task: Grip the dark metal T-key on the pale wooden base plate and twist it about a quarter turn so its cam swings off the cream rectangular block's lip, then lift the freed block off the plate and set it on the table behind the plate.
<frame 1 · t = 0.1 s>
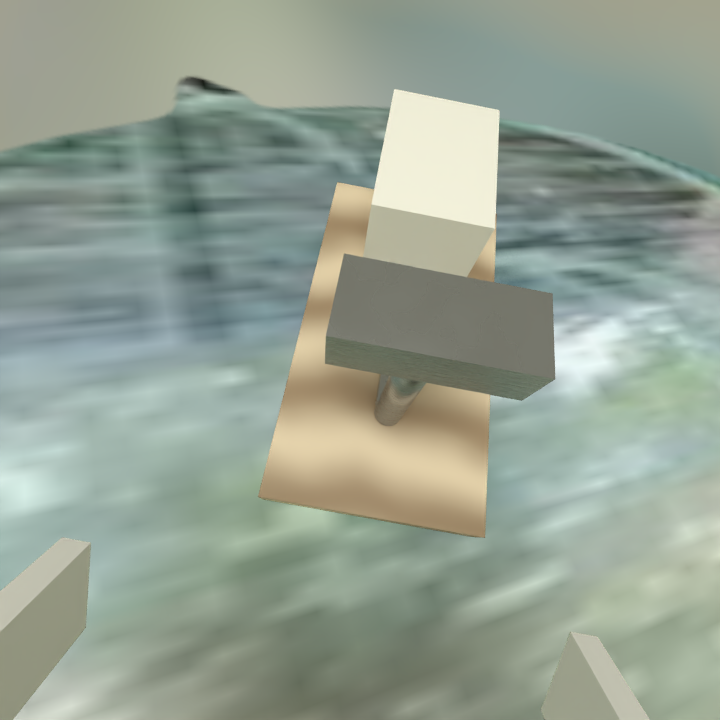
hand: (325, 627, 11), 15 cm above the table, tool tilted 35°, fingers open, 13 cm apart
cream rectangular block: (410, 248, 33), point 2 cm above the table, touching base plate
t key: (414, 324, 22), point 9 cm above the table, hinge at 0.0°
base plate: (394, 341, 32), on the table
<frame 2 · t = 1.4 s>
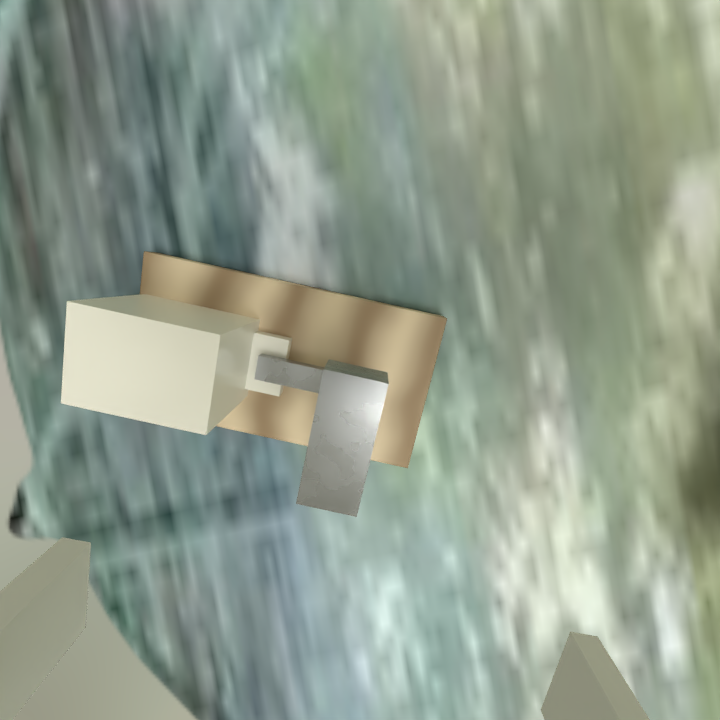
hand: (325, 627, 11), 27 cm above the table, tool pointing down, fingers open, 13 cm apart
cream rectangular block: (197, 346, 35), point 2 cm above the table, touching base plate
t key: (305, 397, 28), point 9 cm above the table, hinge at 0.0°
base plate: (286, 359, 37), on the table
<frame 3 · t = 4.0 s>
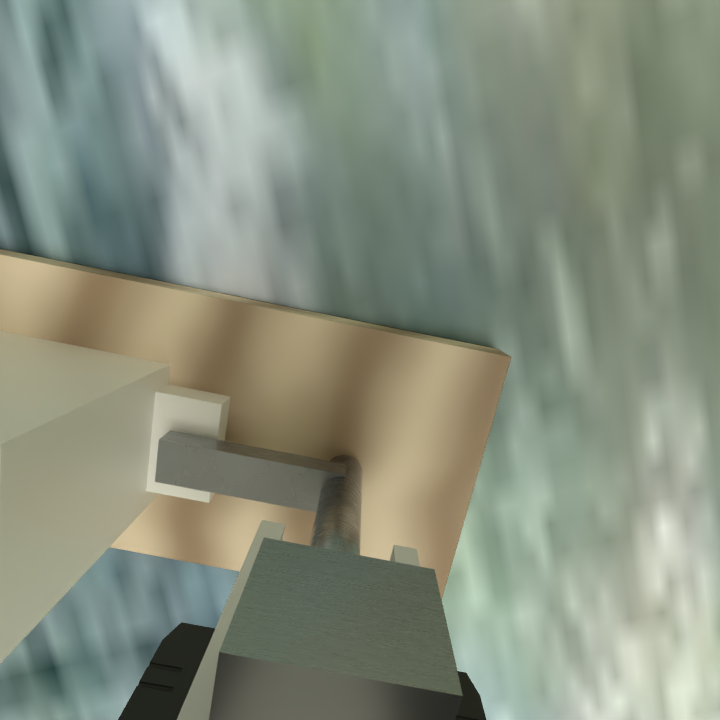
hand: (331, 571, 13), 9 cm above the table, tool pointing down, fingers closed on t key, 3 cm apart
cream rectangular block: (61, 412, 20), point 2 cm above the table, touching base plate
t key: (235, 554, 13), point 9 cm above the table, hinge at 0.0°, touching gripper
base plate: (227, 426, 22), on the table
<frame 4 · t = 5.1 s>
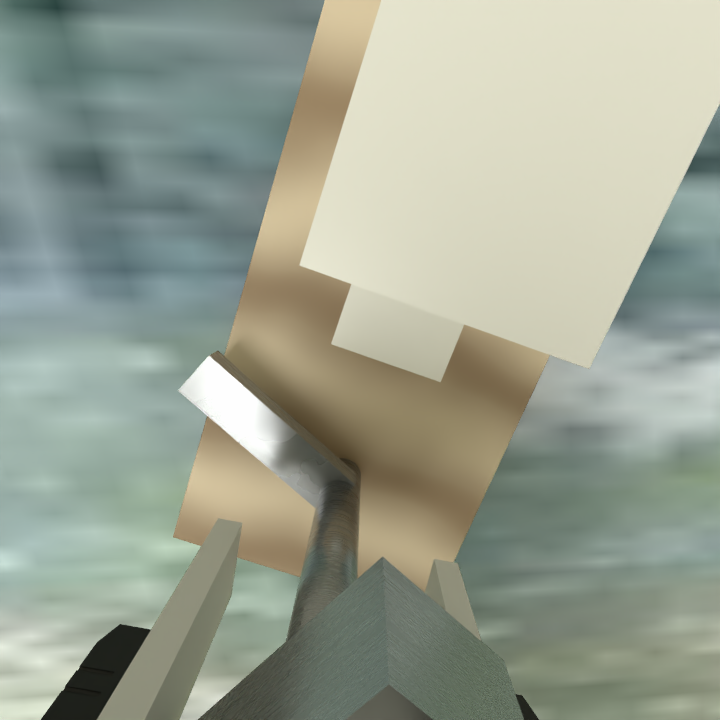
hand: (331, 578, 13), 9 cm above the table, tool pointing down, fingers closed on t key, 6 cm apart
cream rectangular block: (451, 180, 17), point 2 cm above the table, touching base plate
t key: (254, 517, 12), point 9 cm above the table, hinge at 65.7°, touching gripper
base plate: (386, 340, 20), on the table
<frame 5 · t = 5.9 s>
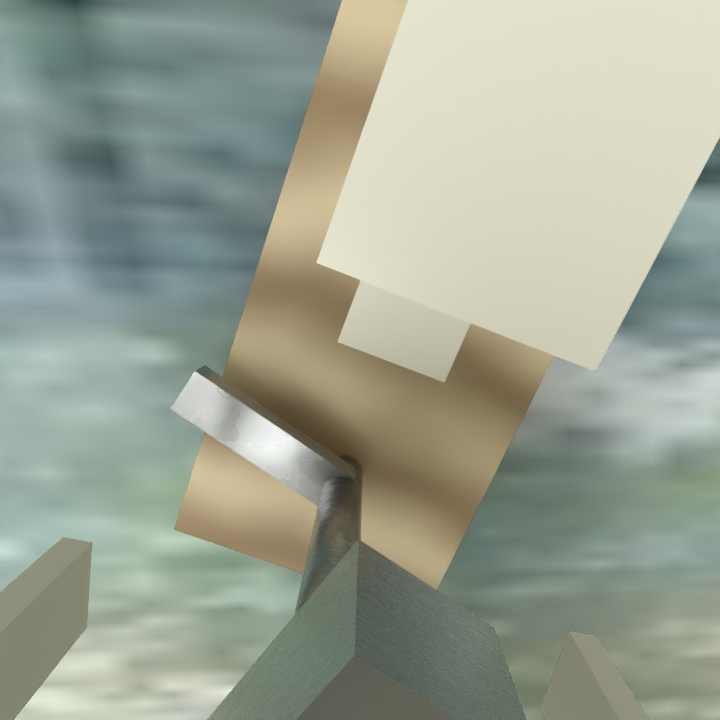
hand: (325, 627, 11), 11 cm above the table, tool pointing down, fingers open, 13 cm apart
cream rectangular block: (460, 183, 17), point 2 cm above the table, touching base plate
t key: (250, 520, 13), point 9 cm above the table, hinge at 74.8°
base plate: (391, 339, 21), on the table
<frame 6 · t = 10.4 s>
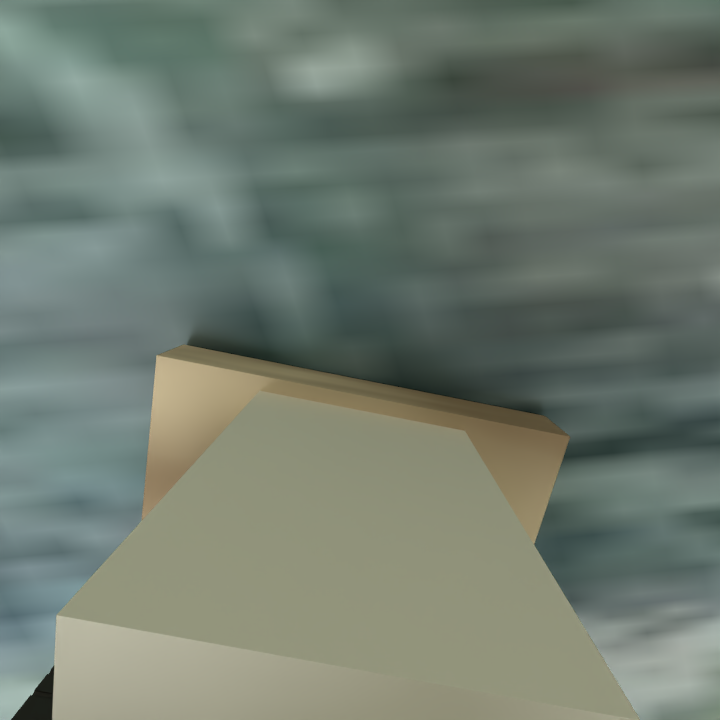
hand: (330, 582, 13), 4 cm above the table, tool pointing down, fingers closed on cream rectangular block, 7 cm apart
cream rectangular block: (335, 539, 15), point 2 cm above the table, touching base plate, gripper
base plate: (308, 654, 18), on the table
when the fingers open (4 cm above the table, at t = 16.5 s): cream rectangular block drops 2 cm, on the table.
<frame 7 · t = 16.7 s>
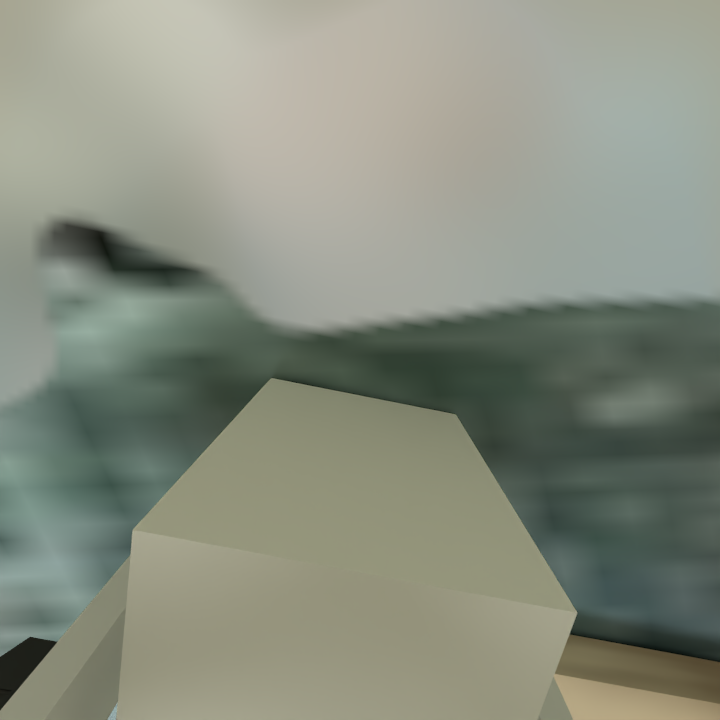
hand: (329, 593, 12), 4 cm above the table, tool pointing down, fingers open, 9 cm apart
cream rectangular block: (339, 514, 16), on the table
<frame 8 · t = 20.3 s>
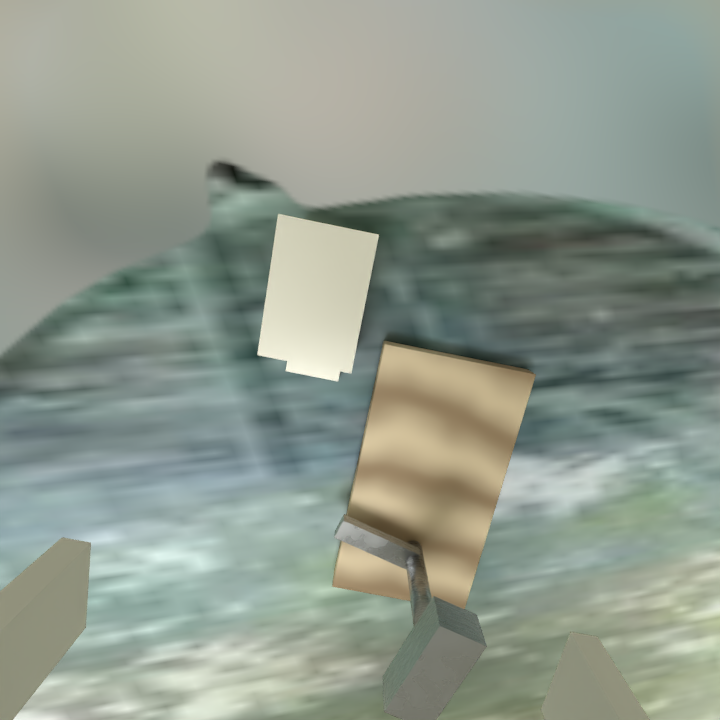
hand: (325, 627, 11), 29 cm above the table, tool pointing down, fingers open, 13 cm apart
cream rectangular block: (328, 290, 37), on the table
t key: (388, 586, 34), point 9 cm above the table, hinge at 75.1°
base plate: (424, 477, 41), on the table
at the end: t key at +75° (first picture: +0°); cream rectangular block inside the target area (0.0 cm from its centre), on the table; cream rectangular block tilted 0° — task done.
